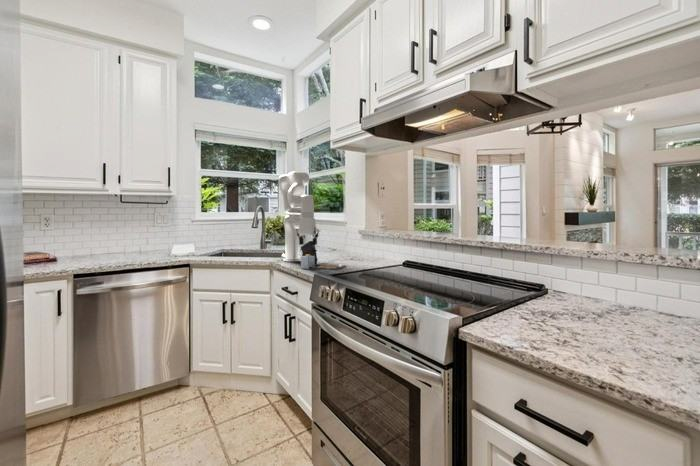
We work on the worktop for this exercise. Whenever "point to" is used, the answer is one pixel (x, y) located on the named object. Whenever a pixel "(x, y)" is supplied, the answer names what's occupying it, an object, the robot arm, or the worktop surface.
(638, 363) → the worktop surface
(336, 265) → the rail board
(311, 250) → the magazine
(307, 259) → the module
